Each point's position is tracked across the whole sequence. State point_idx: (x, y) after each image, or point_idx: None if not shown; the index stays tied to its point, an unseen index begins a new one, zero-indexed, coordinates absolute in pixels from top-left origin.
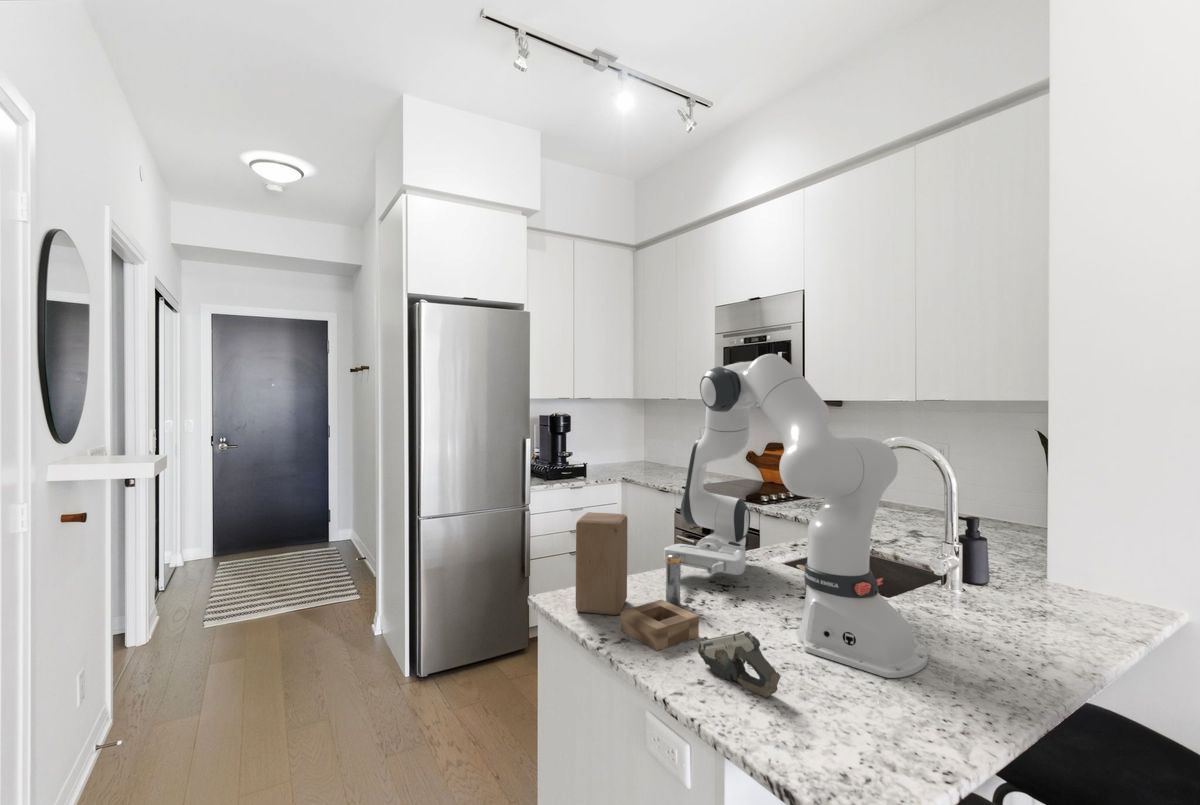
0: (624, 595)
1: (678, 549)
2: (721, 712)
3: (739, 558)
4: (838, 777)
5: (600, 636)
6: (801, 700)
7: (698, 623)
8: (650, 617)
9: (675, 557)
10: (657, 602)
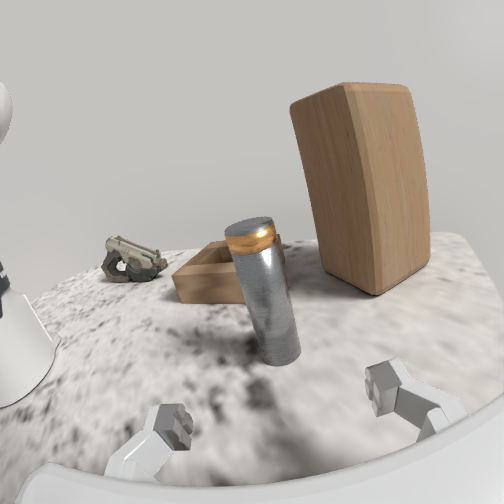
0: (344, 263)
1: (485, 437)
2: None
3: (27, 479)
4: (98, 266)
5: (294, 247)
6: (94, 289)
7: (175, 285)
8: None
9: (234, 224)
10: None
